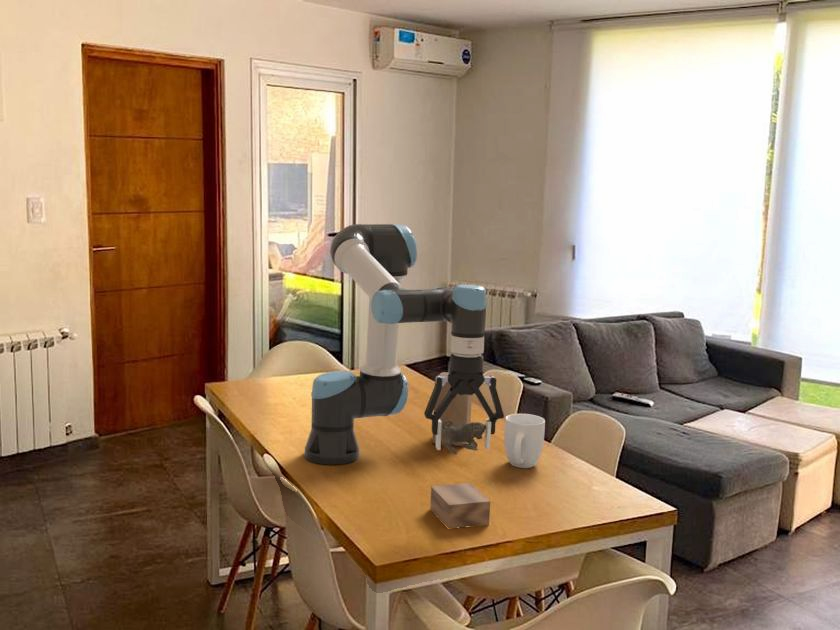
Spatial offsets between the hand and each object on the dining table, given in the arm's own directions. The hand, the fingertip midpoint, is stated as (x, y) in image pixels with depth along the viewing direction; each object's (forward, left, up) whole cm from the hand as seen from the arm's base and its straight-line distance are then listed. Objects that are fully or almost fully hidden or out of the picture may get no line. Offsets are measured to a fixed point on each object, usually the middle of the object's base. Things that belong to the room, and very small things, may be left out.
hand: (462, 447), depth 197 cm
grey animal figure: (0, 0, 0) cm, 1 cm away
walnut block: (0, 0, -17) cm, 17 cm away
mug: (+24, +35, -17) cm, 46 cm away
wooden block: (+8, +57, -17) cm, 60 cm away
